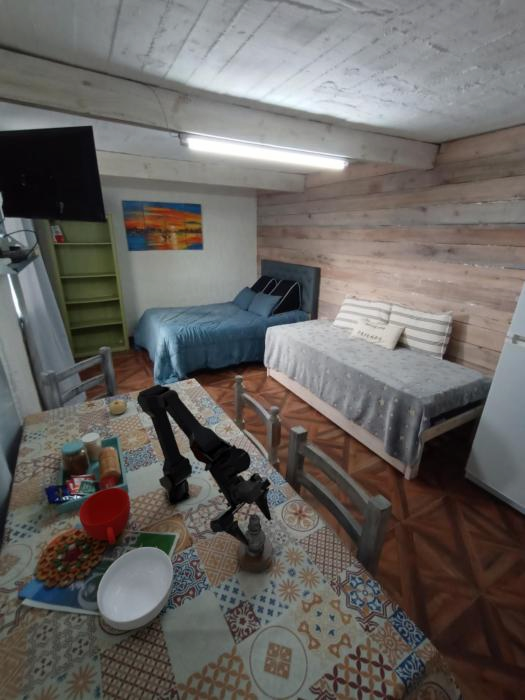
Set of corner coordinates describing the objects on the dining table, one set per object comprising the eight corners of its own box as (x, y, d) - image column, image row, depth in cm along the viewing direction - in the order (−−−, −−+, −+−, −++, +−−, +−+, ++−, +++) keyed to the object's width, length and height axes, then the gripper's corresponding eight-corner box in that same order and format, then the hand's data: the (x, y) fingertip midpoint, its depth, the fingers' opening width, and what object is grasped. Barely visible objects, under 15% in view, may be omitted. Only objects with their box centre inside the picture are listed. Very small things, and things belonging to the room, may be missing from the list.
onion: (107, 411, 153) (105, 398, 151) (124, 405, 158) (122, 393, 156) (113, 418, 148) (110, 405, 145) (130, 412, 153) (128, 399, 150)
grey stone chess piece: (258, 561, 81) (258, 528, 77) (239, 550, 84) (238, 517, 80) (269, 543, 86) (270, 511, 82) (251, 533, 89) (251, 501, 84)
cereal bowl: (177, 627, 71) (174, 607, 68) (96, 654, 66) (89, 633, 64) (174, 556, 86) (172, 538, 83) (108, 574, 82) (103, 555, 79)
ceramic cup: (89, 572, 82) (81, 545, 78) (84, 524, 95) (77, 499, 92) (141, 547, 88) (136, 521, 85) (129, 505, 102) (124, 481, 98)
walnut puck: (249, 580, 80) (249, 571, 79) (233, 551, 87) (232, 542, 86) (278, 561, 85) (278, 552, 84) (260, 535, 92) (260, 527, 91)
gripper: (215, 495, 72) (253, 558, 69) (265, 452, 85) (298, 503, 83) (195, 503, 79) (228, 560, 77) (244, 462, 93) (273, 510, 90)
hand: (259, 532), depth 82 cm, fingers open, 9 cm apart
